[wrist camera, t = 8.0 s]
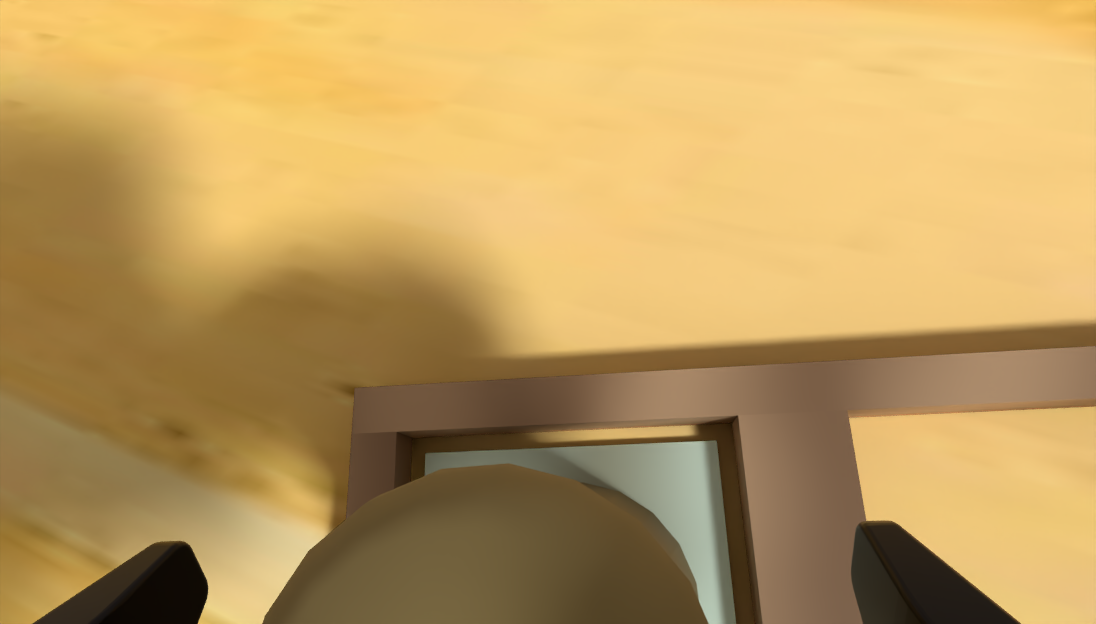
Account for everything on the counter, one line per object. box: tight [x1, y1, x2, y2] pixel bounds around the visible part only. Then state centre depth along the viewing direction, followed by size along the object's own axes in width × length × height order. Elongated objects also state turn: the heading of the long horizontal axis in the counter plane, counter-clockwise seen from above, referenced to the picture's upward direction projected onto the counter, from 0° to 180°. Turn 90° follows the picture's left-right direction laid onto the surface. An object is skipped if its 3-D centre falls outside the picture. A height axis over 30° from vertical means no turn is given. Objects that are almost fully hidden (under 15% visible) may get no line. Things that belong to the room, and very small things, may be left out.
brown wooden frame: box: [346, 346, 1096, 624], centre depth 15 cm, size 22×11×1 cm, turn 91°
